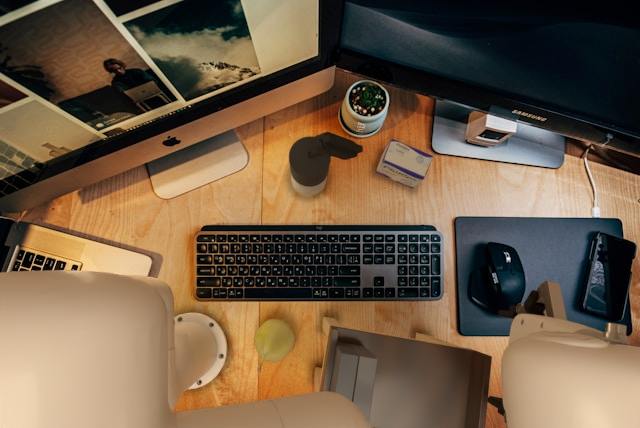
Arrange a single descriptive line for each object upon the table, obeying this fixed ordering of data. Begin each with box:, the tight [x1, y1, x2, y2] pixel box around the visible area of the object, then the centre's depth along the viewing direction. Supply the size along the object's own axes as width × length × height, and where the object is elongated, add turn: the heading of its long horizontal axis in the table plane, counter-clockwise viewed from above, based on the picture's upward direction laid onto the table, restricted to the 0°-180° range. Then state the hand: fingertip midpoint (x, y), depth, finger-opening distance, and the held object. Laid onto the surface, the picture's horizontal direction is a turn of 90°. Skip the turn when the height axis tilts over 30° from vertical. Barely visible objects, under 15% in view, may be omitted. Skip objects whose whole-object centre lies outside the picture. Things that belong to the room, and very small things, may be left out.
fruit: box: [253, 318, 297, 374], centre depth 71 cm, size 7×8×12 cm
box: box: [375, 138, 434, 189], centre depth 78 cm, size 8×4×9 cm, turn 67°
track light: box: [288, 131, 364, 197], centre depth 72 cm, size 6×17×20 cm
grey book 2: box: [350, 344, 378, 421], centre depth 49 cm, size 2×8×10 cm, turn 170°
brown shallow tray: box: [319, 326, 493, 428], centre depth 53 cm, size 19×11×5 cm, turn 80°
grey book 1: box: [330, 342, 359, 401], centre depth 49 cm, size 2×8×10 cm, turn 171°
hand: (505, 357), depth 50 cm, fingers open, 9 cm apart
